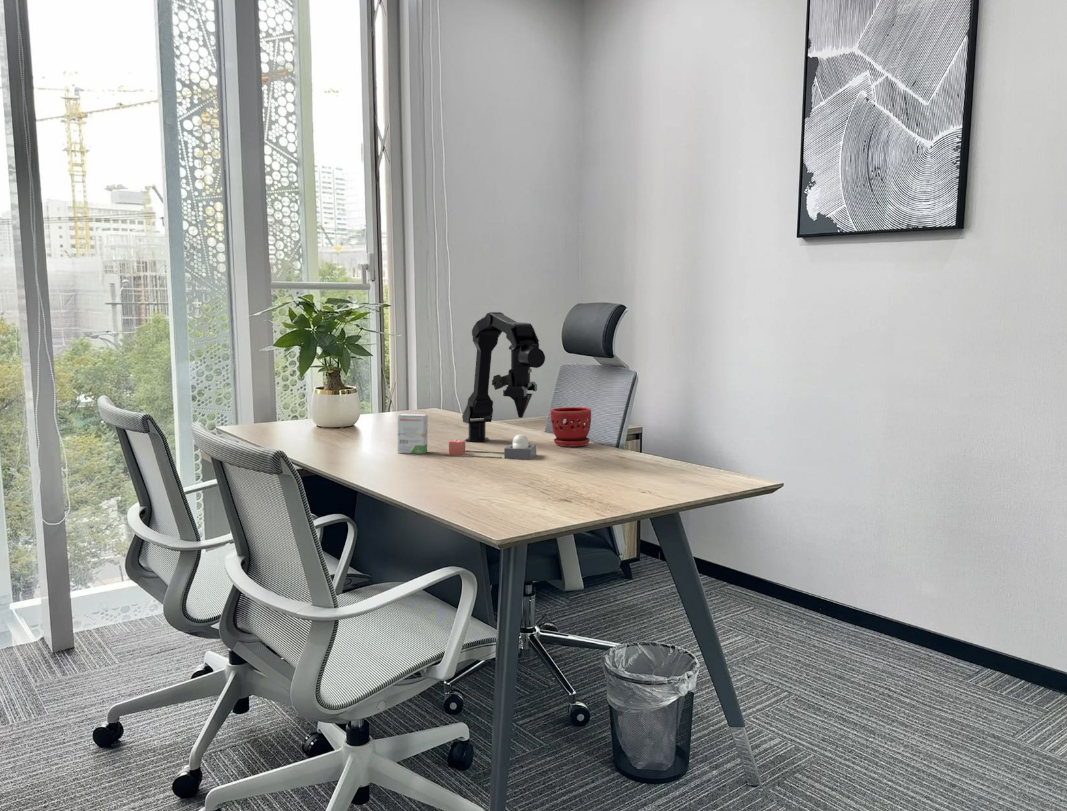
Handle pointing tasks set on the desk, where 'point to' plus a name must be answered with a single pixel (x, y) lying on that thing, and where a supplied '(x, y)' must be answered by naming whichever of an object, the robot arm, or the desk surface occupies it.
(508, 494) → the desk surface
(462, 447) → the die
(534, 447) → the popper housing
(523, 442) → the dome
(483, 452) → the track
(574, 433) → the plant pot
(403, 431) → the ink box
